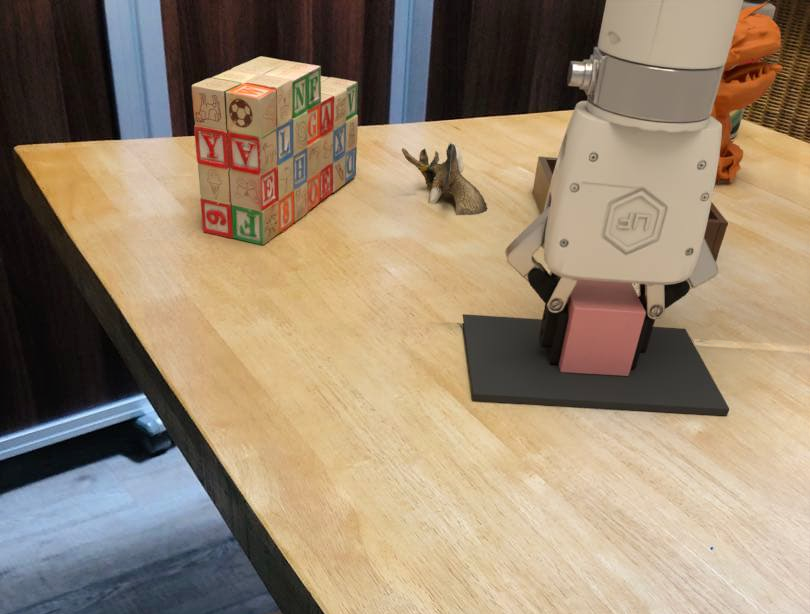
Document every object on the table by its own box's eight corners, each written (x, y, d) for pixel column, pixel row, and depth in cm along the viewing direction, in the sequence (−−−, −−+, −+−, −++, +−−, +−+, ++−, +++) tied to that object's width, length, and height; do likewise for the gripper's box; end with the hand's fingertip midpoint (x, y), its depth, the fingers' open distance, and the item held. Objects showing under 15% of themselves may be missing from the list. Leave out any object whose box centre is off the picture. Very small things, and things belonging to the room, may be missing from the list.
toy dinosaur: (742, 202, 95) (803, 15, 84) (643, 184, 97) (690, -1, 86) (745, 173, 103) (801, -1, 92) (654, 157, 106) (698, -15, 94)
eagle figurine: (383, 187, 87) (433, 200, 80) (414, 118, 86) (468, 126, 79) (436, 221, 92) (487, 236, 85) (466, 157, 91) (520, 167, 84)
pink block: (615, 343, 66) (631, 281, 63) (628, 376, 62) (646, 312, 59) (550, 339, 66) (563, 276, 63) (560, 372, 62) (574, 308, 59)
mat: (683, 335, 69) (685, 328, 69) (727, 416, 60) (730, 408, 60) (461, 320, 68) (462, 313, 68) (472, 401, 59) (473, 393, 59)
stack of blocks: (303, 166, 93) (303, 37, 85) (357, 177, 92) (361, 47, 84) (201, 232, 78) (189, 82, 70) (264, 246, 76) (258, 95, 68)
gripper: (520, 94, 49) (478, 376, 61) (812, 117, 50) (715, 390, 62) (506, 63, 55) (471, 327, 66) (769, 84, 55) (688, 340, 67)
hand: (589, 355), depth 64 cm, fingers closed on pink block, 5 cm apart
